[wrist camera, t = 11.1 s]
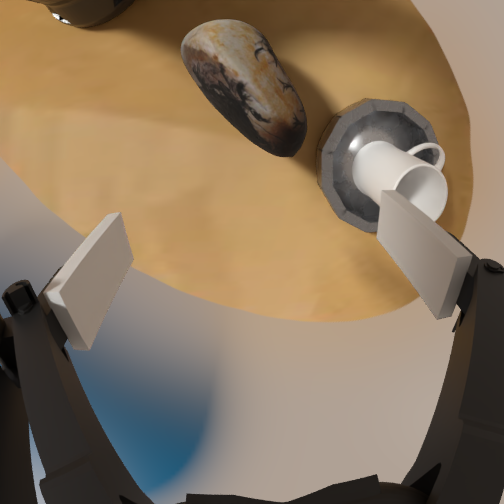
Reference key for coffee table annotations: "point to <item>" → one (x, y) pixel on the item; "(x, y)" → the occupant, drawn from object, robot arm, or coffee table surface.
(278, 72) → the decorative stone
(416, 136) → the gray metal bowl
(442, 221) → the coffee table surface
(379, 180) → the mug
